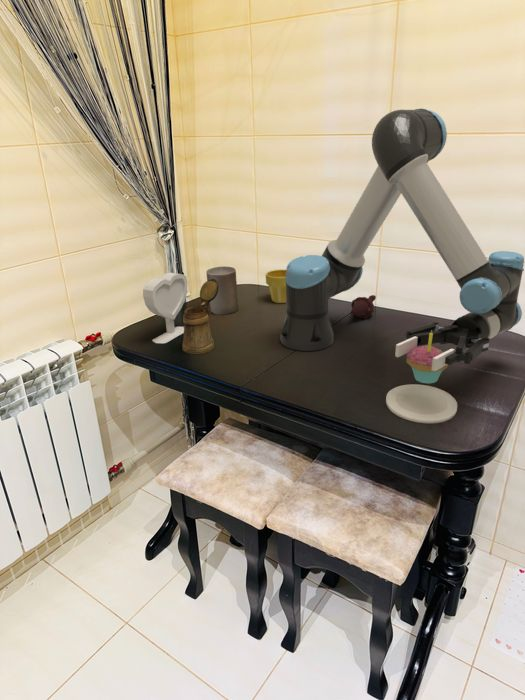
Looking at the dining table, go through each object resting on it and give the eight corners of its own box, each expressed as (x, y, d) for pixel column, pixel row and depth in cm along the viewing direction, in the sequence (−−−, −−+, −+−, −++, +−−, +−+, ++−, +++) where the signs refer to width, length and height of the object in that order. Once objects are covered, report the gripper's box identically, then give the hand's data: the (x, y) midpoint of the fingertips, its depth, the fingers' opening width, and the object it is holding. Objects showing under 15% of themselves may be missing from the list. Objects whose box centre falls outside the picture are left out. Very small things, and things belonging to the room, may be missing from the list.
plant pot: (267, 295, 182) (267, 268, 178) (296, 295, 181) (296, 268, 177) (265, 305, 173) (264, 277, 169) (295, 305, 172) (295, 277, 168)
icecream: (365, 307, 150) (386, 297, 161) (344, 297, 153) (366, 288, 165) (357, 328, 153) (379, 317, 165) (337, 317, 157) (359, 307, 168)
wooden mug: (230, 339, 147) (227, 280, 139) (200, 357, 137) (194, 294, 129) (207, 333, 152) (202, 275, 144) (175, 350, 142) (169, 288, 134)
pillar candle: (241, 305, 173) (239, 262, 167) (233, 315, 164) (230, 270, 158) (214, 304, 175) (211, 262, 169) (205, 314, 167) (201, 270, 160)
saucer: (378, 414, 109) (378, 409, 108) (394, 383, 121) (394, 378, 120) (451, 430, 103) (452, 425, 102) (460, 395, 115) (461, 391, 114)
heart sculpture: (160, 345, 144) (153, 285, 137) (147, 342, 147) (139, 283, 139) (193, 327, 157) (188, 270, 149) (180, 324, 159) (174, 268, 151)
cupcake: (448, 389, 104) (455, 335, 99) (405, 386, 106) (410, 333, 101) (443, 370, 112) (449, 319, 107) (404, 368, 113) (408, 318, 108)
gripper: (517, 357, 110) (459, 392, 97) (433, 330, 125) (373, 357, 112) (523, 325, 107) (464, 357, 94) (436, 302, 122) (375, 326, 109)
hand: (414, 357), depth 103 cm, fingers closed on cupcake, 8 cm apart
